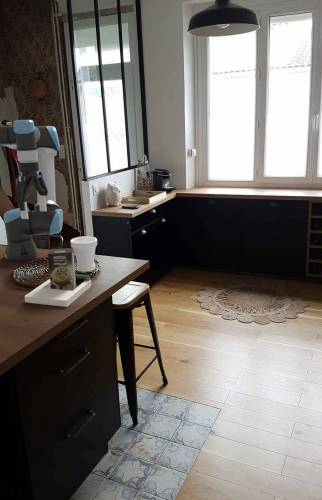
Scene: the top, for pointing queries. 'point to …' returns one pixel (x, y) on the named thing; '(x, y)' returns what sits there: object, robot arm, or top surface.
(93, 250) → the cup
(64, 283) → the grey rectangular box
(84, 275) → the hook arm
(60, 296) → the white rectangular frame
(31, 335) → the top surface
